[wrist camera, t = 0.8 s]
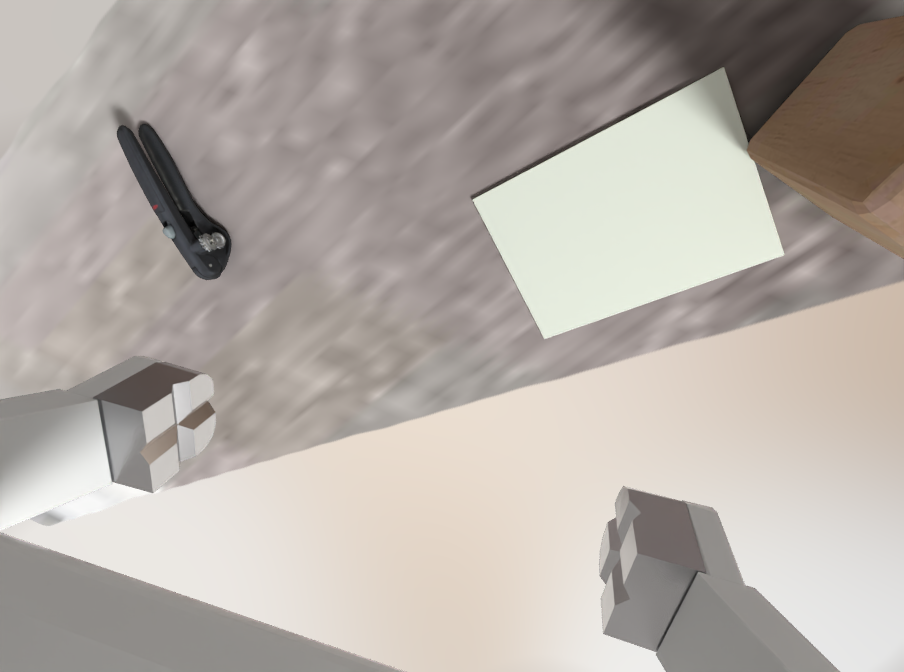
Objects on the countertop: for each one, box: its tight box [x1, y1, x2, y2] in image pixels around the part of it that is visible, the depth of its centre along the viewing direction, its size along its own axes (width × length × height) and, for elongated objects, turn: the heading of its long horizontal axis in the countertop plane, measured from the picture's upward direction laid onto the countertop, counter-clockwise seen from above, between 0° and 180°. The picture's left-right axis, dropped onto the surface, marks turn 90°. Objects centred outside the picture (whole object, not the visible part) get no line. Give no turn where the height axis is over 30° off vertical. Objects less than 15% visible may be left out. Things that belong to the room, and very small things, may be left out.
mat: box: [473, 67, 784, 339], centre depth 44 cm, size 22×16×1 cm
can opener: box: [117, 124, 231, 280], centre depth 54 cm, size 18×7×6 cm, turn 23°
